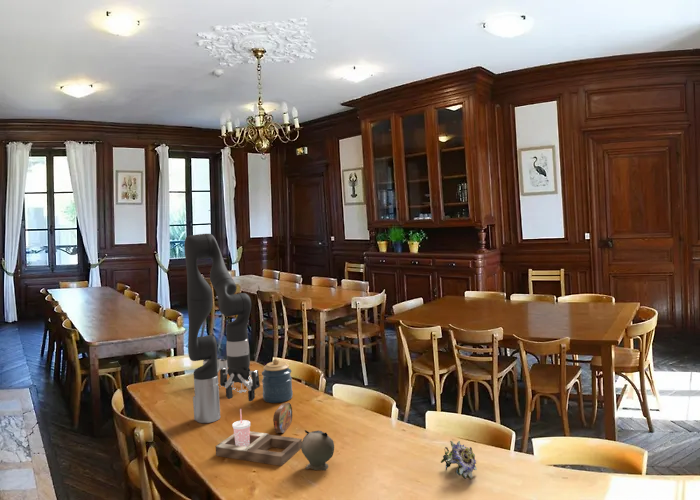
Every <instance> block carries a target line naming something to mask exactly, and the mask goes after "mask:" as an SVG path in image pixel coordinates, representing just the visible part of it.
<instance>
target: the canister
mask: <svg viewBox="0 0 700 500" xmlns="http://www.w3.org/2000/svg"><path fill="white" fill-rule="evenodd" d="M289 367H290V364H288V363H287V362H286V361H281V360H279V359H278V358H273V360H272V361H270V362H268V363H266V365H264V366H263V368H262V369H263V371H261V376H262V379H261V382H262V398H263V401H264V402H266V403H269V404H271V403H272V404H277V403H286V402H289V400H291V399H292V398H293V393H294V392H293V385H292V381H293V377H292V376H291V374H292V370H291V368H289Z"/></svg>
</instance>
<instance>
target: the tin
mask: <svg viewBox="0 0 700 500" xmlns="http://www.w3.org/2000/svg"><path fill="white" fill-rule="evenodd" d="M272 422H273V428H274V432H275V433H276V434H284V433H285V432H286V431H287V429H289V427H290V425H291V424H292V422H293V407H292V405H291V403H290V402H282V403H281V404H280V405H279V406H278V408H277V409H276V410H275V412H274V414H273V419H272Z"/></svg>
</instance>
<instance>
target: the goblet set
mask: <svg viewBox="0 0 700 500" xmlns="http://www.w3.org/2000/svg"><path fill="white" fill-rule="evenodd" d="M207 361H208V359H207V360H202V366H203V365H204V364H205V363H206V362H207ZM225 367H226V368H227V369H228V367H227V358H225V359H224V358H223V359H222V358H221V357H217V369H218V373H220V370H221V369H222V368H225ZM234 383H235V382H233V384H232V390H235V389H236V388H237V387H234ZM238 390H239V391H238ZM238 390H235V391H236V393H237V392H239V393H238V394H243V393H242V392H244V393H247V392H248V389H243V383H240V389H238ZM246 391H247V392H246Z"/></svg>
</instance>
